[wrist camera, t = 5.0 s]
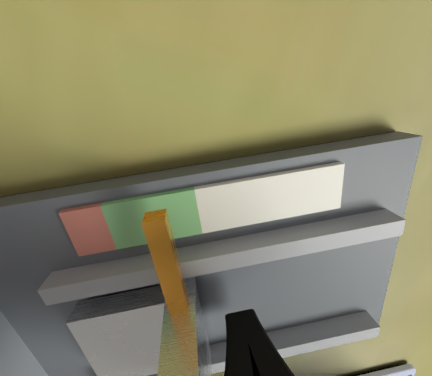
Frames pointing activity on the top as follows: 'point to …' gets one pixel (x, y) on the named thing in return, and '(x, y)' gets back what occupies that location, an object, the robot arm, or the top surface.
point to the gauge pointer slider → (147, 319)
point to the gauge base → (213, 248)
